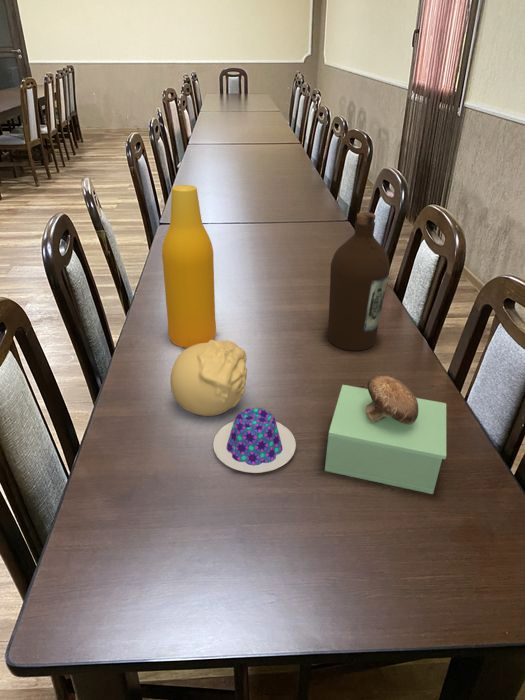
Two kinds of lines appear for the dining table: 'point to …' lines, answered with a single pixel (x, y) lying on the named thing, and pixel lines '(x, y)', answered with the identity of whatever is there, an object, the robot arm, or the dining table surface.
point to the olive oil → (357, 288)
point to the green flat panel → (390, 425)
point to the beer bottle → (188, 272)
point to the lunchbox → (382, 464)
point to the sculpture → (209, 377)
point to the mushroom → (391, 400)
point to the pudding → (254, 442)
